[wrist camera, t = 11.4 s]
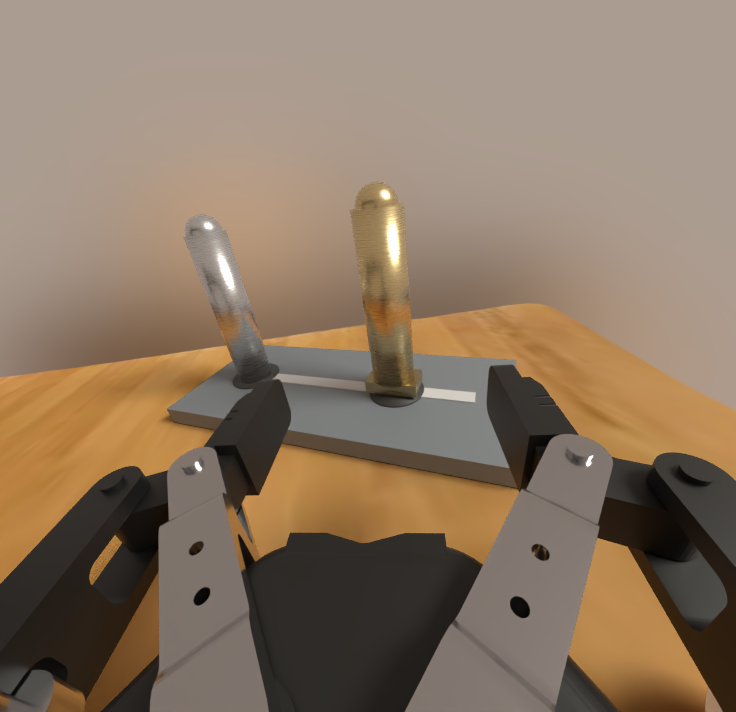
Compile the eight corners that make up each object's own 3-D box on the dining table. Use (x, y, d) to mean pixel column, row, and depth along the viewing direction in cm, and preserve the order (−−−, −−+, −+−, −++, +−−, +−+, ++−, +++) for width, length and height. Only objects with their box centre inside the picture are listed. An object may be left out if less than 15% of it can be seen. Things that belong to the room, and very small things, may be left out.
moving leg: (364, 395, 24) (331, 187, 17) (377, 373, 26) (352, 185, 19) (415, 401, 22) (401, 177, 15) (423, 377, 25) (414, 176, 18)
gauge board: (174, 422, 27) (166, 407, 26) (258, 355, 37) (254, 343, 36) (524, 489, 17) (528, 469, 16) (513, 374, 27) (515, 358, 26)
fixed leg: (233, 383, 29) (166, 219, 22) (254, 366, 31) (199, 214, 24) (259, 386, 28) (197, 215, 21) (278, 368, 30) (228, 210, 23)
